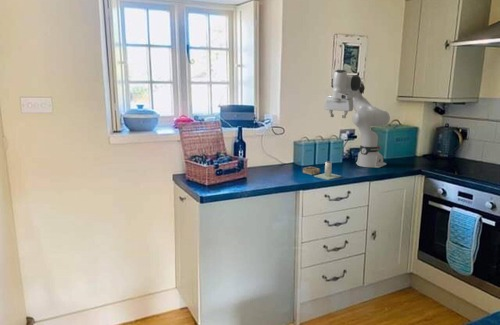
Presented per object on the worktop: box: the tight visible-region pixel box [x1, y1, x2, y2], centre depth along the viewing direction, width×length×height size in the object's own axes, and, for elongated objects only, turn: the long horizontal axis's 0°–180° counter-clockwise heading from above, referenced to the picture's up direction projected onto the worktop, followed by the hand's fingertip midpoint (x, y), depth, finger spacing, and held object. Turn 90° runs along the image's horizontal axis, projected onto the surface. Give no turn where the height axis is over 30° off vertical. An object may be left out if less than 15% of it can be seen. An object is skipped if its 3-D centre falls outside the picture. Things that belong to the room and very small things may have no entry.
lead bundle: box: [324, 160, 333, 177], centre depth 229 cm, size 4×4×9 cm
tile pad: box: [313, 172, 342, 181], centre depth 230 cm, size 13×11×1 cm
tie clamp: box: [302, 166, 321, 176], centre depth 240 cm, size 8×9×3 cm
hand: (337, 117), depth 240 cm, fingers open, 8 cm apart
